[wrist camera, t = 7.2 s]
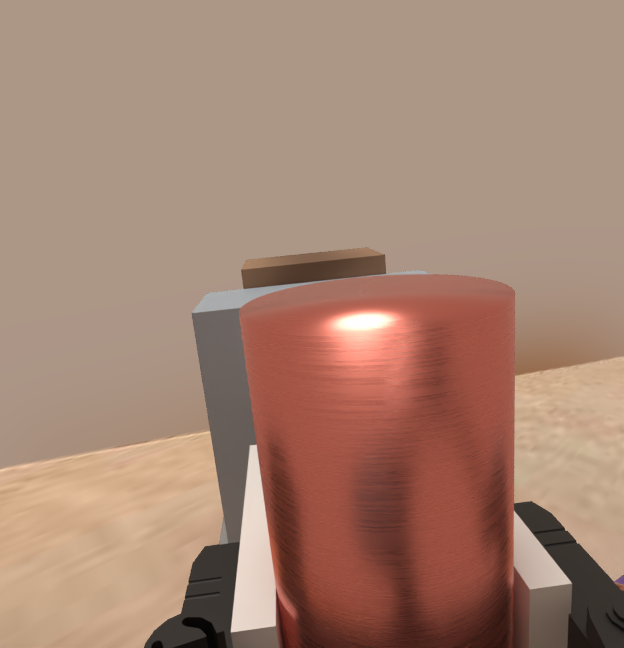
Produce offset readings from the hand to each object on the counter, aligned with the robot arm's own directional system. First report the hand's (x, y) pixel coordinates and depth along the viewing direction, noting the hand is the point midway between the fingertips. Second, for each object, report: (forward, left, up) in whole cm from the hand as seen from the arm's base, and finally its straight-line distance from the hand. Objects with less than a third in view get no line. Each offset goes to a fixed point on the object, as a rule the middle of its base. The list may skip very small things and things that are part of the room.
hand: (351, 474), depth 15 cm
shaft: (+1, -2, -9) cm, 9 cm away
